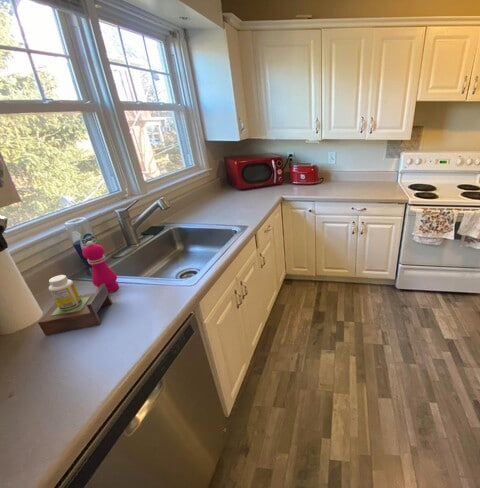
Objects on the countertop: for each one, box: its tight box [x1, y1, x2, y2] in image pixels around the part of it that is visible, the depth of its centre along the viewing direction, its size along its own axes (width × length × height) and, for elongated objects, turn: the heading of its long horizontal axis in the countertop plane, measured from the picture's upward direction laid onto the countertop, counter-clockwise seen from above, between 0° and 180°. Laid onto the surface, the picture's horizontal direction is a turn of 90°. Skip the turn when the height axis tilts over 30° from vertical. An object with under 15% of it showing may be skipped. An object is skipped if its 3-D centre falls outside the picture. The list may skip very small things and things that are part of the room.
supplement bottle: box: [48, 274, 82, 310], centre depth 86 cm, size 6×6×10 cm
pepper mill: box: [81, 240, 120, 294], centre depth 101 cm, size 7×7×20 cm
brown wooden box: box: [37, 284, 113, 336], centre depth 89 cm, size 14×12×8 cm
